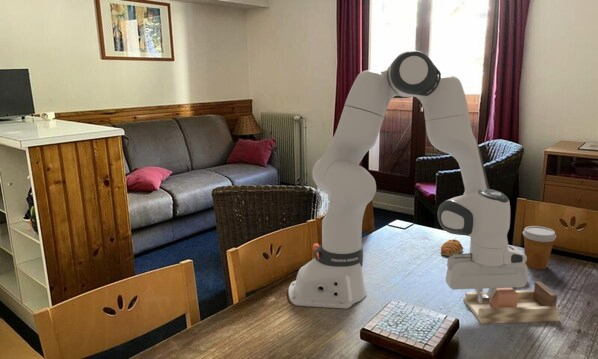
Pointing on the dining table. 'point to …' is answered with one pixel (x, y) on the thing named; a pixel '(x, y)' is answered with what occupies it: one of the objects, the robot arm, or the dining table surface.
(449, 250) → the pastry
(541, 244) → the disposable coffee cup
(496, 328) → the dining table surface
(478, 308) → the channel
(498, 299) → the salmon pink cube
